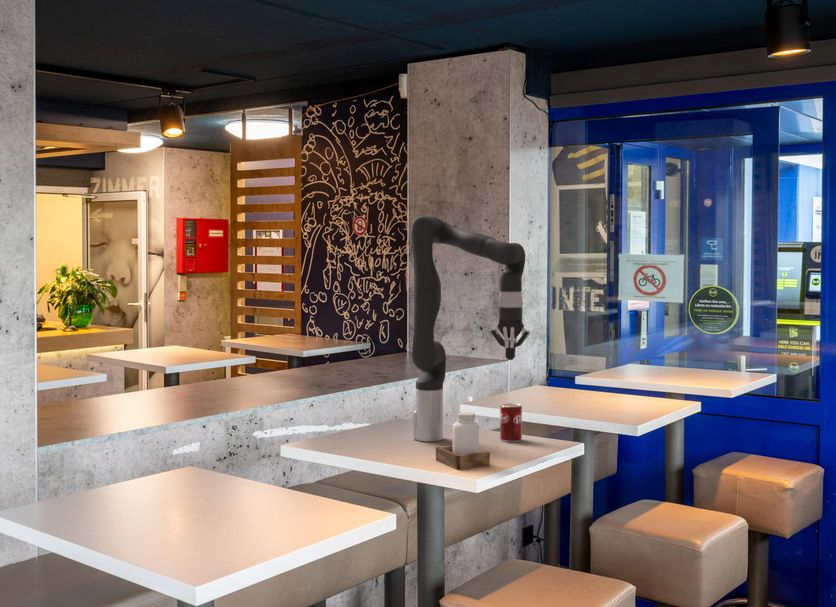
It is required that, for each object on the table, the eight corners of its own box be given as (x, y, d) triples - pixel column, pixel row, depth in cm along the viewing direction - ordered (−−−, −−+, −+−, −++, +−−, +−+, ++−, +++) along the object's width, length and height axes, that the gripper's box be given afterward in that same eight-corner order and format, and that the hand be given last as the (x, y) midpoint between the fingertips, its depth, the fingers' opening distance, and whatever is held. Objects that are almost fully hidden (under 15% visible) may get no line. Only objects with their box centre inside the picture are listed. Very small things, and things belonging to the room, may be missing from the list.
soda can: (521, 438, 310) (521, 403, 309) (521, 442, 303) (522, 407, 302) (500, 438, 311) (500, 403, 310) (499, 442, 303) (500, 406, 303)
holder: (467, 456, 283) (467, 443, 283) (489, 465, 271) (489, 452, 271) (435, 460, 278) (435, 447, 278) (456, 469, 266) (456, 456, 266)
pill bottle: (482, 460, 277) (482, 412, 276) (474, 466, 270) (474, 416, 269) (457, 458, 280) (457, 410, 279) (448, 464, 273) (448, 414, 272)
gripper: (487, 305, 290) (486, 360, 291) (527, 306, 284) (526, 362, 285) (494, 304, 297) (494, 357, 298) (534, 305, 291) (533, 359, 292)
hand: (510, 359), depth 291 cm, fingers closed
